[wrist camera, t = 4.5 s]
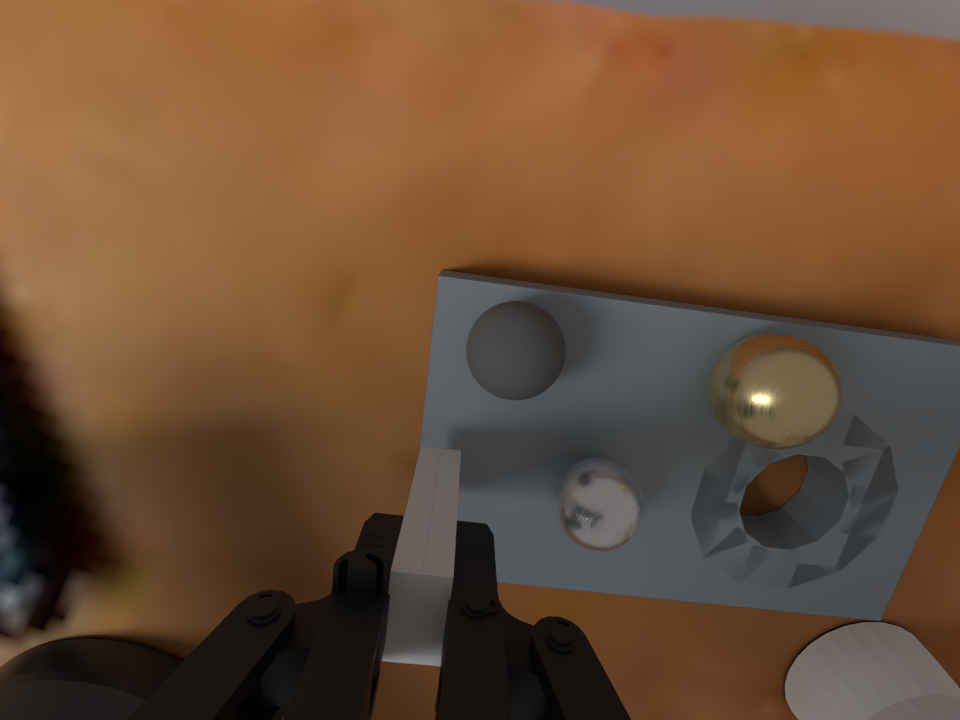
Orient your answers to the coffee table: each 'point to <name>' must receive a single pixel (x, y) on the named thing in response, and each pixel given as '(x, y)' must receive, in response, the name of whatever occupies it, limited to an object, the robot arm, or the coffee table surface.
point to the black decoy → (515, 350)
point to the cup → (870, 677)
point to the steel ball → (598, 504)
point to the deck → (695, 452)
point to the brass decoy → (774, 391)
